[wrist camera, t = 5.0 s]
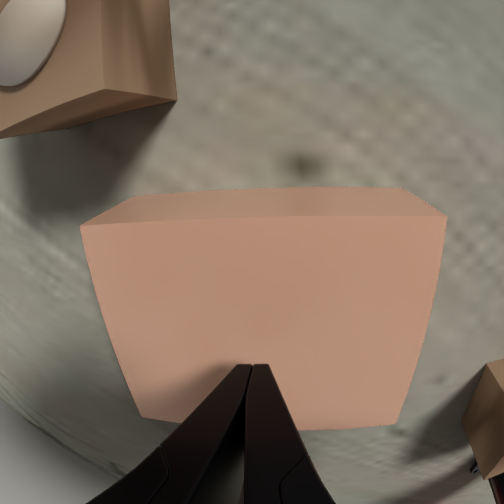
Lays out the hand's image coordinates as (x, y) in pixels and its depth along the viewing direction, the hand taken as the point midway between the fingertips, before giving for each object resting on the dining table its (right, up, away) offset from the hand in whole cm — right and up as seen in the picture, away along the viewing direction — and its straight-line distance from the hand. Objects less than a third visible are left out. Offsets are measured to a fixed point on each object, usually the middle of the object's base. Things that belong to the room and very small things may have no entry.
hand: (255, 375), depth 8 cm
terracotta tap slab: (+1, +2, +5) cm, 5 cm away
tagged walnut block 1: (-5, +11, +2) cm, 12 cm away
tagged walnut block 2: (+15, -5, +6) cm, 17 cm away
